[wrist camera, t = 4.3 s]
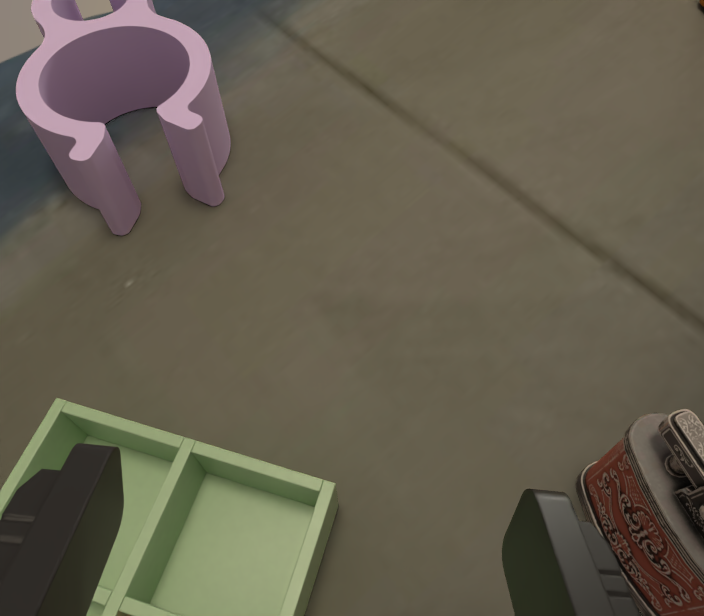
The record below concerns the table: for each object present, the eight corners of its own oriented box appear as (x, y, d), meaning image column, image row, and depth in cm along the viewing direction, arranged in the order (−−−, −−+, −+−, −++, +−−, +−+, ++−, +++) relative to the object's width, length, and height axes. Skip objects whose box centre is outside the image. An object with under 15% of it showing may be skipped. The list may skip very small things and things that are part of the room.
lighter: (711, 613, 28) (861, 586, 20) (649, 641, 28) (776, 625, 19) (616, 456, 32) (707, 377, 24) (560, 477, 32) (633, 404, 23)
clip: (39, 73, 50) (-4, -8, 44) (185, 35, 52) (162, -47, 46) (80, 248, 40) (32, 175, 34) (257, 192, 43) (240, 115, 37)
